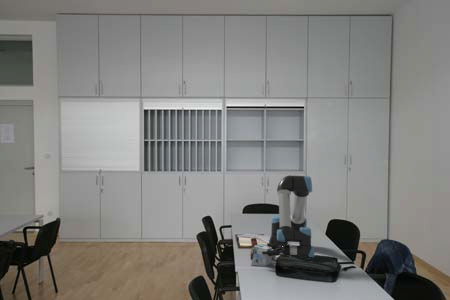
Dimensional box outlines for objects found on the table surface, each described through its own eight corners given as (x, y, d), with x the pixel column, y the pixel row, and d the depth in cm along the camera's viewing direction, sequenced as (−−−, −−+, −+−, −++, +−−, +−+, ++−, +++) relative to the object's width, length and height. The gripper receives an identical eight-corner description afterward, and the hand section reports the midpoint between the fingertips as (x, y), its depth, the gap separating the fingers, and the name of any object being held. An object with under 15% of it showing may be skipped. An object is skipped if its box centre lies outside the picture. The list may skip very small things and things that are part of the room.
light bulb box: (252, 261, 232) (253, 245, 231) (259, 259, 236) (259, 243, 236) (265, 265, 224) (265, 249, 224) (271, 263, 229) (272, 247, 229)
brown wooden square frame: (251, 252, 253) (251, 246, 253) (273, 253, 251) (273, 248, 251) (250, 259, 238) (250, 253, 238) (273, 260, 236) (273, 254, 236)
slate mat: (252, 259, 237) (252, 258, 237) (272, 261, 235) (272, 260, 235) (251, 265, 225) (251, 264, 225) (272, 267, 223) (272, 266, 223)
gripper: (290, 262, 215) (256, 260, 218) (288, 250, 240) (258, 248, 243) (291, 250, 215) (256, 248, 218) (289, 240, 240) (258, 238, 243)
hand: (257, 248), depth 230 cm, fingers open, 13 cm apart
